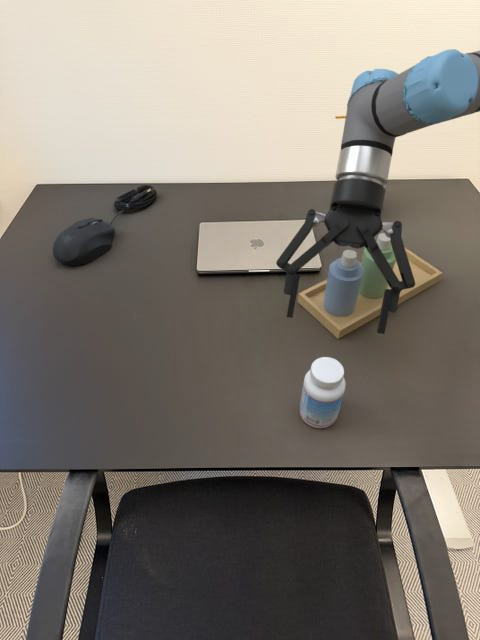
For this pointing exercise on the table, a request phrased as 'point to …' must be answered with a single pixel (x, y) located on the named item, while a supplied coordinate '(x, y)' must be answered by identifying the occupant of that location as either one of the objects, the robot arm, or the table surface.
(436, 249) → the table surface
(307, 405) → the pill bottle
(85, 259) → the computer mouse
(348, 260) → the blue-grey bottle
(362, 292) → the green bottle
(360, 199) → the robot arm
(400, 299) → the tray
